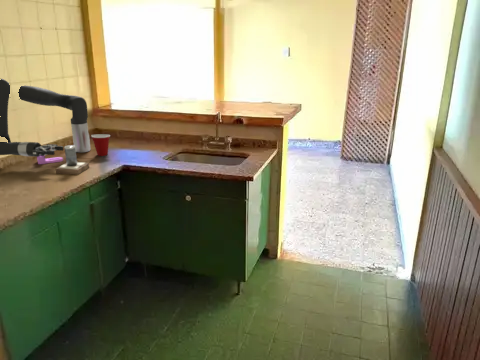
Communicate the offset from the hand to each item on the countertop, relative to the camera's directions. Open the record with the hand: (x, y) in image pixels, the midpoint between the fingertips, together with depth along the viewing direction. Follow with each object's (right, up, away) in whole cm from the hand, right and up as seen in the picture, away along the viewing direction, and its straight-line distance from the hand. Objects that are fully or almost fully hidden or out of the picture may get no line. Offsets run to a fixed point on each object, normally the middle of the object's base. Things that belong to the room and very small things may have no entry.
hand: (58, 150), depth 216 cm
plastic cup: (+13, 0, +31) cm, 34 cm away
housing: (+6, -7, +2) cm, 10 cm away
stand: (+6, -10, +3) cm, 12 cm away
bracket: (-12, -5, +17) cm, 22 cm away
